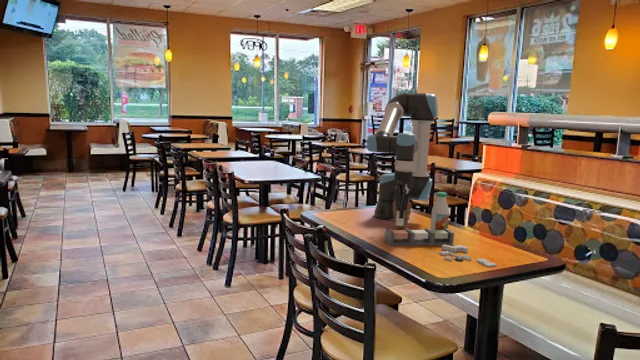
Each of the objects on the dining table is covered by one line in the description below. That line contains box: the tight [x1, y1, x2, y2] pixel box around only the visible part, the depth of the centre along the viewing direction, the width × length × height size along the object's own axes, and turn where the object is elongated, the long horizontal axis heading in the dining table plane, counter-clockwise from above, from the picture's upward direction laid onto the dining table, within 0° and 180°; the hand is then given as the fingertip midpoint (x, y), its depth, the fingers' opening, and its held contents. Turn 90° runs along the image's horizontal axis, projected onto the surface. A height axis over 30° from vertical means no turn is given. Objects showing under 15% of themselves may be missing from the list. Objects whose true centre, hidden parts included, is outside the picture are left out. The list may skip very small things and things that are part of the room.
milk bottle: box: [429, 191, 450, 230], centre depth 214 cm, size 8×8×20 cm
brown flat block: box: [390, 229, 408, 239], centre depth 200 cm, size 5×6×2 cm
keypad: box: [384, 227, 455, 247], centre depth 202 cm, size 8×28×6 cm, turn 99°
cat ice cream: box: [393, 199, 413, 230], centre depth 220 cm, size 9×8×18 cm
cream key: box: [410, 229, 428, 239], centre depth 201 cm, size 5×6×2 cm
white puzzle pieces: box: [438, 244, 497, 268], centre depth 183 cm, size 20×24×2 cm
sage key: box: [431, 230, 448, 239], centre depth 203 cm, size 5×6×2 cm
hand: (399, 225), depth 199 cm, fingers closed
